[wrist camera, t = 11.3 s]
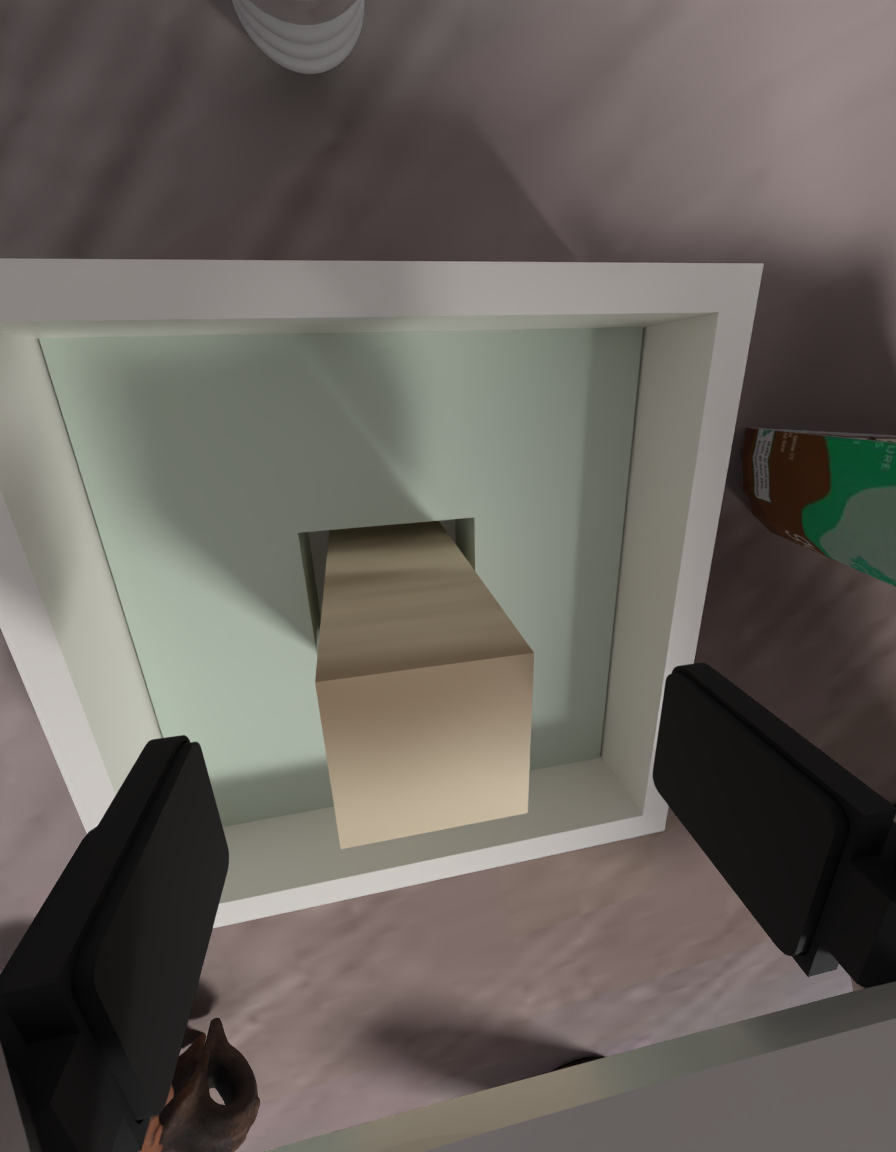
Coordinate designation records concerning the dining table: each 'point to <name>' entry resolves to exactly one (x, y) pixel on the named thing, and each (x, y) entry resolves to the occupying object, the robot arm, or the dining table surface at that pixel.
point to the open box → (328, 305)
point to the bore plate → (347, 514)
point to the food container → (826, 493)
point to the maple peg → (418, 687)
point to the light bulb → (303, 30)
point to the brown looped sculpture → (206, 1099)
